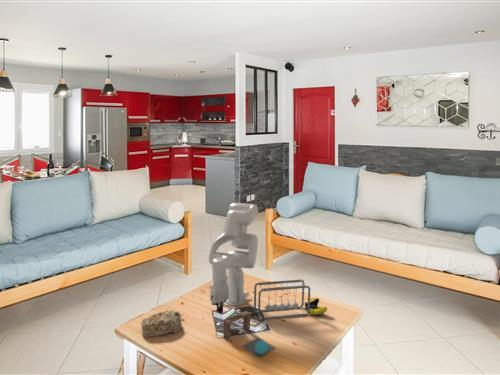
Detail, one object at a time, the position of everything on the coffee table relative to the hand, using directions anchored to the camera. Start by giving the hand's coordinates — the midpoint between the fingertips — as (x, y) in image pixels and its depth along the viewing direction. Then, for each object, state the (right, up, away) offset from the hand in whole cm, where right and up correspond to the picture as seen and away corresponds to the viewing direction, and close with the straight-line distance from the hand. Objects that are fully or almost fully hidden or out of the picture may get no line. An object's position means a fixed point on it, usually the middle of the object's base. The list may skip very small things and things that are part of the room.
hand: (220, 312), depth 222 cm
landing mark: (+20, -10, -23) cm, 32 cm away
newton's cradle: (+34, -5, +12) cm, 36 cm away
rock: (-30, -7, -8) cm, 32 cm away
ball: (+21, -8, -29) cm, 37 cm away
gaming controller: (+54, -4, +15) cm, 56 cm away
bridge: (+10, -8, -11) cm, 17 cm away
